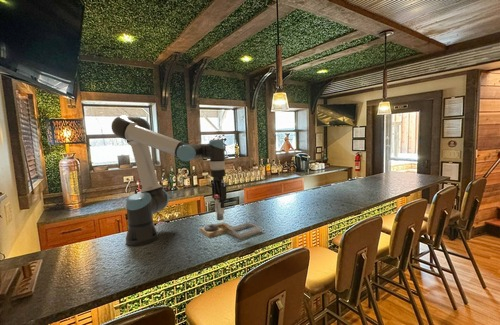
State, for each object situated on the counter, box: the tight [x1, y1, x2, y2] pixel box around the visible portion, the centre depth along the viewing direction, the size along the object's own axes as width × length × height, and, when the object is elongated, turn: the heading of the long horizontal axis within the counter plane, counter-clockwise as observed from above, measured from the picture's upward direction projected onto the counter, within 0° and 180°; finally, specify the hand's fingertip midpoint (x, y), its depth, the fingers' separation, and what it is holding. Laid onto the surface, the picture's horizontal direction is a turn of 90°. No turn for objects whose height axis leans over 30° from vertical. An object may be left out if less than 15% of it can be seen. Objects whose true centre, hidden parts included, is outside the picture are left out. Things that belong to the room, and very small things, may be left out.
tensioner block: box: [199, 222, 233, 238], centre depth 132 cm, size 14×10×5 cm
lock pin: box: [213, 194, 224, 221], centre depth 133 cm, size 5×5×14 cm
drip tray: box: [227, 222, 262, 240], centre depth 129 cm, size 13×11×3 cm
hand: (219, 212), depth 133 cm, fingers closed on lock pin, 4 cm apart
